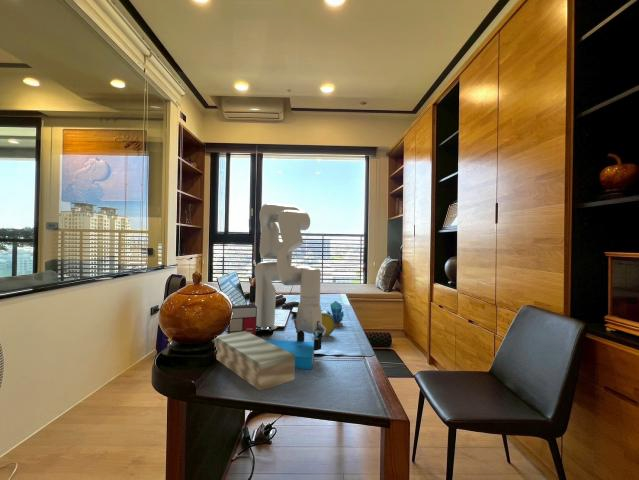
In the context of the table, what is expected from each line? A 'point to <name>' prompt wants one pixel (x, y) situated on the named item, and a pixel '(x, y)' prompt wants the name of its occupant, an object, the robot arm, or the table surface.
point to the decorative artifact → (327, 323)
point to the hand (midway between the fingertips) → (308, 346)
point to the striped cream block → (255, 359)
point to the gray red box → (243, 319)
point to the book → (298, 352)
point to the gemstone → (336, 313)
